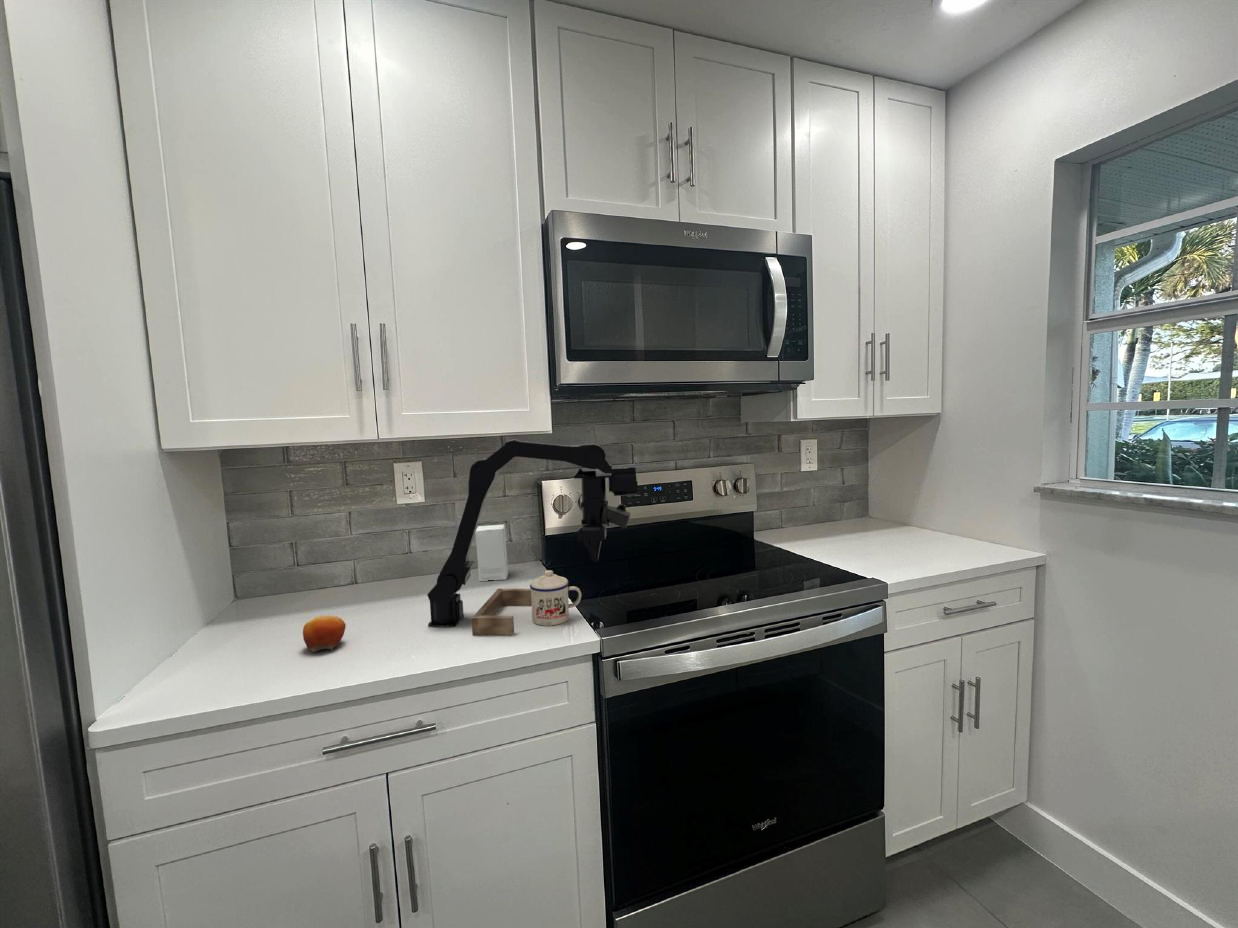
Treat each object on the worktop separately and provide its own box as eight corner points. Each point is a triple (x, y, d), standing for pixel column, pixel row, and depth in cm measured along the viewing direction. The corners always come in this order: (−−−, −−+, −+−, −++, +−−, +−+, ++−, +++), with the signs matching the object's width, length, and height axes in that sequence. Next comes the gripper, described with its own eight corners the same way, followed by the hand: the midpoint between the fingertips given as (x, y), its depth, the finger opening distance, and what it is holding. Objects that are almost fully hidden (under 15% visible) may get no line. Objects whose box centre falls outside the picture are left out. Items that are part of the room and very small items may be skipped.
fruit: (299, 655, 109) (299, 615, 112) (305, 661, 116) (305, 623, 119) (344, 647, 112) (343, 608, 115) (347, 653, 119) (346, 616, 122)
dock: (472, 635, 120) (471, 618, 120) (498, 603, 140) (497, 588, 139) (512, 635, 119) (511, 617, 119) (533, 603, 139) (532, 588, 139)
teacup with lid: (532, 628, 123) (530, 578, 122) (529, 614, 132) (527, 567, 131) (585, 622, 126) (583, 573, 125) (578, 609, 134) (577, 563, 133)
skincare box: (508, 573, 166) (506, 523, 165) (506, 580, 159) (504, 528, 158) (480, 575, 165) (477, 525, 164) (477, 582, 158) (474, 529, 157)
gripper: (626, 502, 119) (628, 572, 120) (629, 490, 137) (630, 550, 139) (575, 503, 119) (578, 572, 121) (585, 491, 138) (587, 551, 139)
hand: (595, 561), depth 130 cm, fingers closed
